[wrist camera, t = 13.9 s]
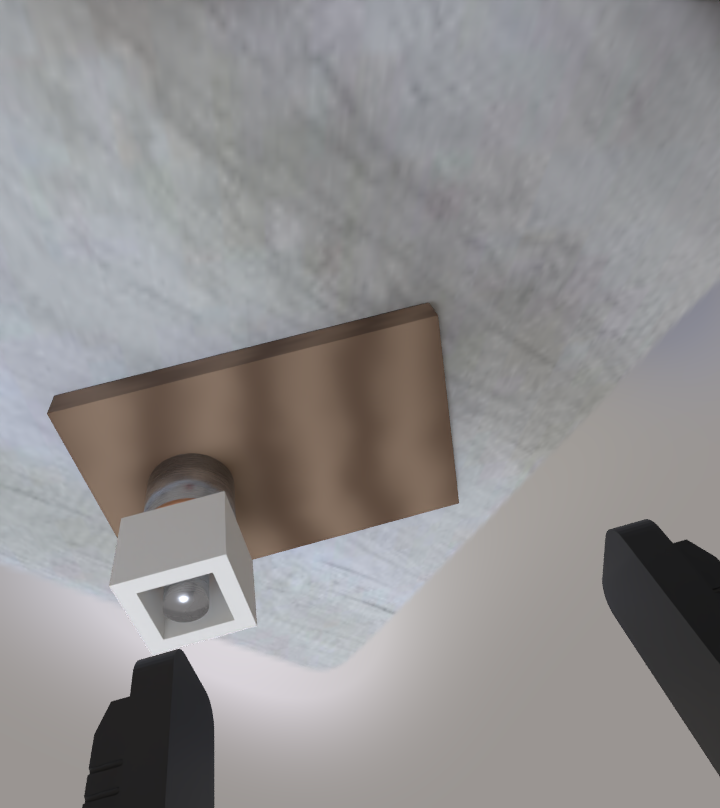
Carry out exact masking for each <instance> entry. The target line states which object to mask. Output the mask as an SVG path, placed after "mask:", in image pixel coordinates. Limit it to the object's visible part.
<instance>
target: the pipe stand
mask: <svg viewBox="0 0 720 808" xmlns="http://www.w3.org/2000/svg"><path fill="white" fill-rule="evenodd" d="M47 414H48V416H49V418H50V420H51V422H52V423H53V425H54V427H55V429H56V430H57V432H58V434H59V436H60V437H61V439H62V441H63V443H64V445H65V446H66V448H67V450H68V452H69V453H70V455H71V457H72V459H73V460H74V462H75V464H76V466H77V467H78V469H79V471H80V473H81V475H82V476H83V478H84V480H85V482H86V483H87V485H88V487H89V489H90V490H91V492H92V494H93V496H94V497H95V499H96V501H97V503H98V505H99V506H100V508H101V510H102V512H103V513H104V515H105V517H106V519H107V520H108V522H109V524H110V526H111V527H112V529H113V531H114V533H115V535H116V536H117V538H118V534H119V528H120V523H121V518H124V517H128V516H132V515H136V514H140V513H143V512H147V511H151V510H155V509H158V508H162V507H166V506H170V505H174V504H177V503H181V502H185V501H189V500H192V499H196V498H200V497H204V496H208V495H211V494H215V493H219V492H223V491H225V493H226V496H227V498H228V501H229V503H230V506H231V508H232V511H233V513H234V516H235V518H236V521H237V523H238V526H239V528H240V531H241V533H242V536H243V538H244V541H245V543H246V546H247V548H248V551H249V553H250V556H251V558H252V560H253V559H257V558H260V557H264V556H268V555H271V554H275V553H279V552H282V551H286V550H289V549H293V548H297V547H300V546H304V545H308V544H311V543H315V542H319V541H322V540H326V539H330V538H333V537H337V536H341V535H344V534H348V533H352V532H355V531H359V530H363V529H366V528H370V527H374V526H377V525H381V524H384V523H388V522H392V521H395V520H399V519H403V518H406V517H410V516H414V515H417V514H421V513H425V512H428V511H432V510H436V509H439V508H443V507H447V506H450V505H454V504H458V503H459V499H458V490H457V481H456V472H455V463H454V454H453V445H452V436H451V427H450V418H449V409H448V401H447V392H446V383H445V374H444V365H443V356H442V347H441V338H440V329H439V320H438V315H437V313H436V312H435V311H434V309H433V308H432V307H431V305H430V304H429V303H425V304H421V305H417V306H413V307H409V308H405V309H401V310H397V311H393V312H389V313H385V314H381V315H377V316H373V317H369V318H365V319H361V320H357V321H353V322H349V323H345V324H341V325H337V326H332V327H328V328H324V329H320V330H316V331H312V332H308V333H304V334H300V335H296V336H292V337H288V338H284V339H280V340H276V341H272V342H268V343H264V344H260V345H256V346H252V347H248V348H244V349H240V350H236V351H232V352H228V353H224V354H220V355H216V356H212V357H208V358H204V359H200V360H196V361H192V362H188V363H184V364H180V365H176V366H172V367H168V368H164V369H160V370H156V371H152V372H148V373H144V374H140V375H136V376H132V377H128V378H124V379H120V380H116V381H112V382H108V383H104V384H100V385H96V386H92V387H88V388H84V389H80V390H76V391H72V392H68V393H64V394H60V395H56V396H54V398H53V400H52V403H51V405H50V408H49V410H48V412H47ZM208 609H209V574H205V575H202V576H198V577H194V578H191V579H187V580H183V581H180V582H176V583H173V584H169V585H165V586H164V596H163V613H164V614H165V616H166V617H167V618H169V619H171V620H173V621H176V622H192V621H195V620H198V619H200V618H201V617H203V616H204V615H205V614H206V613H207V611H208Z"/></svg>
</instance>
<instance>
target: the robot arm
mask: <svg viewBox="0 0 720 808" xmlns="http://www.w3.org/2000/svg"><path fill="white" fill-rule="evenodd" d="M602 584H603V590H604V594H605V597H606V600H607V603H608V605H609V607H610V609H611V611H612V613H613V614H614V616H615V618H616V619H617V621H618V622H619V624H620V625H621V627H622V628H623V630H624V631H625V633H626V635H627V636H628V638H629V639H630V641H631V642H632V644H633V645H634V647H635V648H636V650H637V651H638V653H639V654H640V656H641V657H642V659H643V660H644V662H645V663H646V665H647V666H648V668H649V669H650V671H651V673H652V674H653V675H654V677H655V679H656V680H657V682H658V683H659V685H660V686H661V688H662V689H663V691H664V692H665V694H666V695H667V697H668V698H669V700H670V701H671V703H672V704H673V706H674V707H675V709H676V711H677V712H678V713H679V715H680V717H681V718H682V720H683V721H684V723H685V724H686V725H687V727H688V729H689V730H690V732H691V733H692V735H693V736H694V738H695V739H696V741H697V742H698V744H699V745H700V747H701V749H702V750H703V751H704V753H705V755H706V756H707V758H708V759H709V760H710V762H711V764H712V765H713V767H714V768H715V770H716V771H717V773H718V774H719V776H720V561H719V560H718V559H717V558H716V557H715V556H713V555H711V554H710V553H708V552H706V551H705V550H703V549H701V548H700V547H698V546H696V545H695V544H693V543H692V542H690V541H688V540H684V541H680V542H676V543H672V542H671V541H670V540H669V538H668V537H667V536H666V535H665V534H664V533H663V531H662V530H661V529H660V528H659V527H658V526H657V525H656V524H655V523H654V522H653V521H651V520H648V519H645V520H642V521H638V522H635V523H631V524H627V525H624V526H620V527H617V528H613V529H610V530H608V531H607V533H606V539H605V552H604V565H603V578H602ZM89 770H90V774H89V775H88V777H87V783H86V790H85V795H84V797H85V804H83V807H82V808H214V721H213V714H212V708H211V704H210V700H209V698H208V695H207V693H206V691H205V689H204V687H203V685H202V684H201V682H200V680H199V678H198V677H197V675H196V673H195V671H194V670H193V668H192V666H191V664H190V662H189V661H188V659H187V657H186V655H185V654H184V652H183V651H182V650H181V649H177V650H173V651H170V652H166V653H163V654H159V655H156V656H152V657H148V658H145V659H141V660H139V661H137V662H136V664H135V666H134V669H133V676H132V685H131V693H130V697H126V698H123V699H119V700H116V701H112V702H111V703H110V705H109V707H108V709H107V711H106V713H105V715H104V717H103V719H102V721H101V723H100V725H99V726H98V729H97V730H96V733H95V735H94V740H93V746H92V752H91V758H90V764H89Z"/></svg>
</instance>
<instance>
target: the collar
mask: <svg viewBox="0 0 720 808" xmlns="http://www.w3.org/2000/svg"><path fill="white" fill-rule="evenodd" d="M205 574H209V609H208V611H207V613H206V614H205V615H204V616H203V617H201V618H200V619H198V620H195V621H192V622H176V621H173V620H171V619H169V618H167V617H166V616H165V614H164V613H163V596H164V586H165V585H169V584H173V583H176V582H180V581H183V580H187V579H191V578H194V577H198V576H202V575H205ZM109 587H110V588H111V590H112V592H113V593H114V595H115V596H116V598H117V600H118V601H119V603H120V605H121V606H122V608H123V609H124V611H125V613H126V614H127V616H128V617H129V619H130V621H131V622H132V624H133V626H134V627H135V629H136V630H137V632H138V634H139V635H140V637H141V639H142V640H143V642H144V644H145V645H146V647H147V648H148V650H149V652H150V653H151V655H155V654H159V653H163V652H166V651H170V650H173V649H177V648H181V647H184V646H187V645H191V644H195V643H198V642H202V641H206V640H209V639H213V638H216V637H220V636H223V635H227V634H230V633H234V632H238V631H241V630H245V629H248V628H252V627H255V626H257V618H256V604H255V590H254V576H253V562H252V558H251V556H250V553H249V551H248V548H247V546H246V543H245V541H244V538H243V536H242V533H241V531H240V528H239V526H238V523H237V521H236V518H235V516H234V513H233V511H232V508H231V506H230V503H229V501H228V498H227V496H226V493H225V491H223V492H219V493H215V494H211V495H208V496H204V497H200V498H196V499H192V500H189V501H185V502H181V503H177V504H174V505H170V506H166V507H162V508H158V509H155V510H151V511H147V512H143V513H140V514H136V515H132V516H128V517H124V518H121V523H120V528H119V534H118V540H117V545H116V551H115V556H114V562H113V567H112V573H111V579H110V584H109Z"/></svg>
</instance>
